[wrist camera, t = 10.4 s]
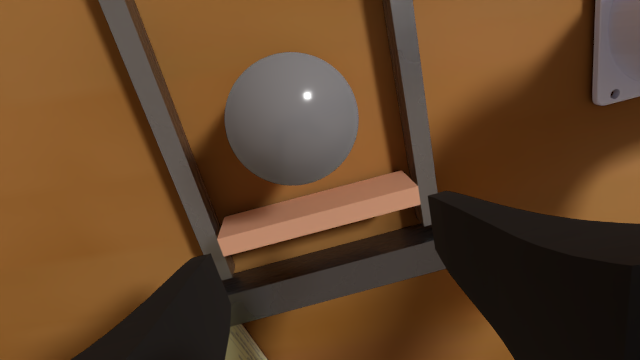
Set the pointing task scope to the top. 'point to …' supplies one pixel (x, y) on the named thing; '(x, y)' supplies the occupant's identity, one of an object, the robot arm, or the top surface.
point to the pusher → (317, 212)
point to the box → (242, 345)
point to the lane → (318, 267)
